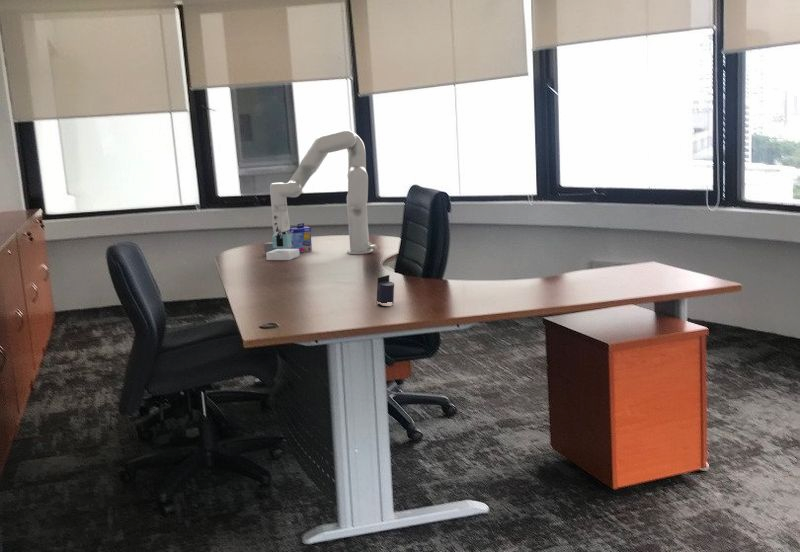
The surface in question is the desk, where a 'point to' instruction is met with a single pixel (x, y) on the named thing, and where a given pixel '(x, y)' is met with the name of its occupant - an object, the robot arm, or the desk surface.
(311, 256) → the desk surface
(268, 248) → the grey brick
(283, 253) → the white block
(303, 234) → the ink cartridge box
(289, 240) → the teal brick
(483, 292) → the desk surface
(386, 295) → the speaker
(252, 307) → the desk surface
